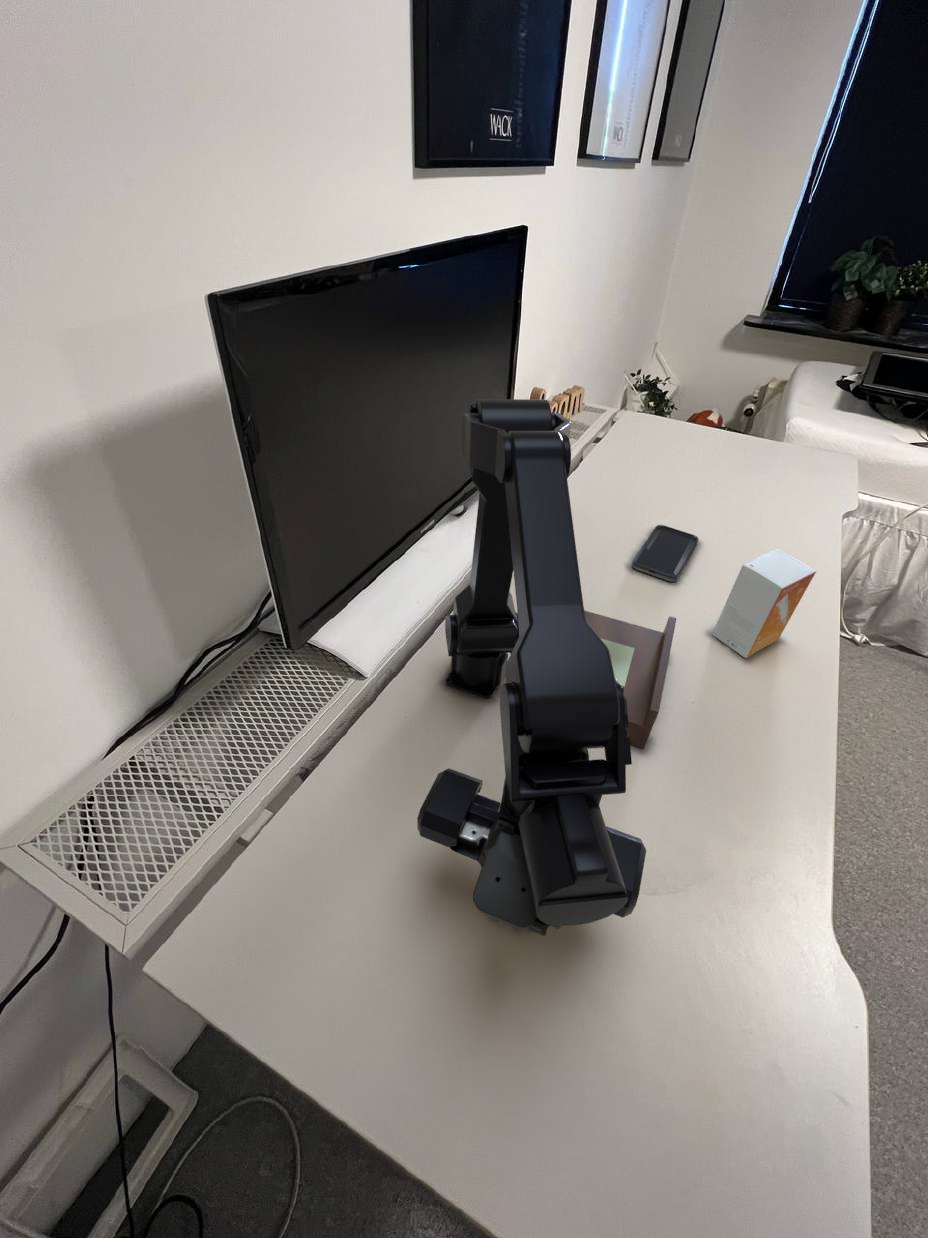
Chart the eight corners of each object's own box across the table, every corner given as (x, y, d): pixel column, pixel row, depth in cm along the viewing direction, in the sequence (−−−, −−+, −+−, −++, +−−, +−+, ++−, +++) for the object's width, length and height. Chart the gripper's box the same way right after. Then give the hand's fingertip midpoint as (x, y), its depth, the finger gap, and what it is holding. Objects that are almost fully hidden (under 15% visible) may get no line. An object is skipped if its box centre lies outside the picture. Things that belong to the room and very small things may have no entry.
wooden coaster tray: (533, 713, 76) (540, 675, 71) (567, 627, 88) (576, 590, 84) (643, 749, 72) (658, 712, 68) (662, 654, 85) (676, 617, 80)
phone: (700, 536, 107) (677, 578, 97) (698, 542, 108) (675, 583, 98) (657, 523, 110) (630, 562, 100) (655, 528, 111) (629, 567, 101)
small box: (746, 660, 85) (782, 588, 76) (710, 634, 89) (741, 563, 80) (779, 640, 89) (818, 570, 80) (744, 616, 92) (777, 546, 84)
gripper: (384, 833, 42) (391, 924, 53) (646, 941, 38) (598, 1018, 48) (445, 721, 50) (440, 819, 61) (668, 798, 46) (622, 890, 56)
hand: (518, 882), depth 56 cm, fingers closed on supplement bottle, 5 cm apart
